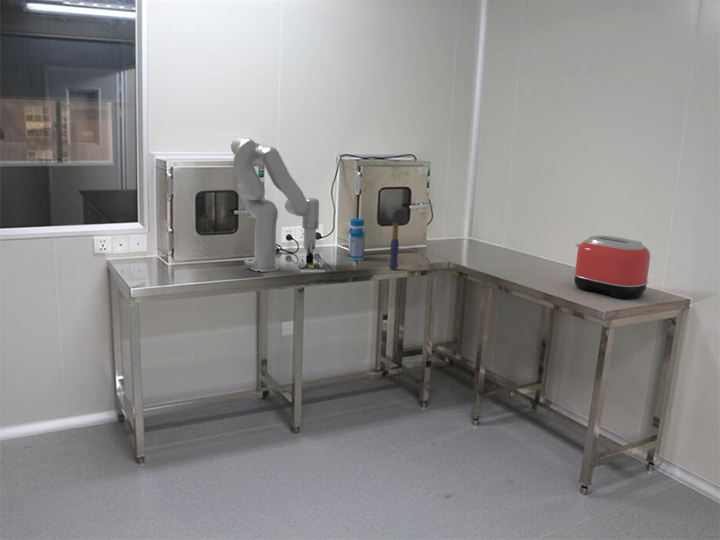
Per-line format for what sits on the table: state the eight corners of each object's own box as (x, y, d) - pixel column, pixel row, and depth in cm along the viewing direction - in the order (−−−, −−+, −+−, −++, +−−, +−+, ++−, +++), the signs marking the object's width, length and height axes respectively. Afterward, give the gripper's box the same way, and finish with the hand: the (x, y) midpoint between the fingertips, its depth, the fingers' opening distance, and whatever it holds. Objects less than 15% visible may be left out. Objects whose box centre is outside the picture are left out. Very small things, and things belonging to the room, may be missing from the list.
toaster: (654, 295, 280) (662, 242, 275) (627, 303, 265) (635, 247, 260) (586, 280, 304) (592, 231, 298) (558, 286, 289) (564, 235, 284)
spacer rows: (300, 269, 300) (300, 262, 299) (298, 265, 307) (299, 259, 307) (322, 269, 302) (323, 262, 301) (320, 265, 309) (321, 259, 308)
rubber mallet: (382, 266, 315) (385, 204, 308) (397, 266, 317) (400, 204, 310) (389, 272, 303) (392, 207, 297) (404, 272, 305) (408, 208, 298)
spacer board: (300, 273, 294) (300, 272, 294) (298, 266, 307) (298, 265, 307) (324, 273, 296) (324, 272, 296) (321, 266, 309) (321, 265, 309)
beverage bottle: (354, 261, 325) (356, 221, 320) (344, 258, 331) (345, 218, 326) (367, 259, 330) (369, 219, 326) (356, 256, 336) (358, 217, 332)
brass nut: (306, 268, 302) (306, 264, 301) (305, 266, 305) (305, 262, 305) (316, 268, 302) (316, 264, 302) (315, 266, 306) (315, 262, 306)
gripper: (301, 222, 312) (300, 260, 316) (303, 227, 298) (303, 266, 302) (316, 222, 313) (315, 260, 317) (320, 227, 299) (319, 266, 303)
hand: (309, 263), depth 310 cm, fingers closed
